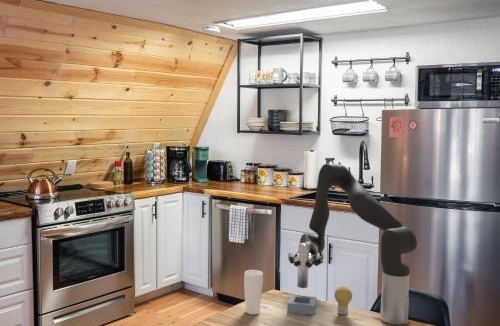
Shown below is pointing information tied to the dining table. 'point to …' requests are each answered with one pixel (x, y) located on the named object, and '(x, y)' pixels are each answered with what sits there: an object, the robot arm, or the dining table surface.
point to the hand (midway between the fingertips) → (302, 264)
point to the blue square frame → (301, 304)
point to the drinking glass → (253, 291)
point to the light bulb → (343, 299)
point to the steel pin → (303, 265)
